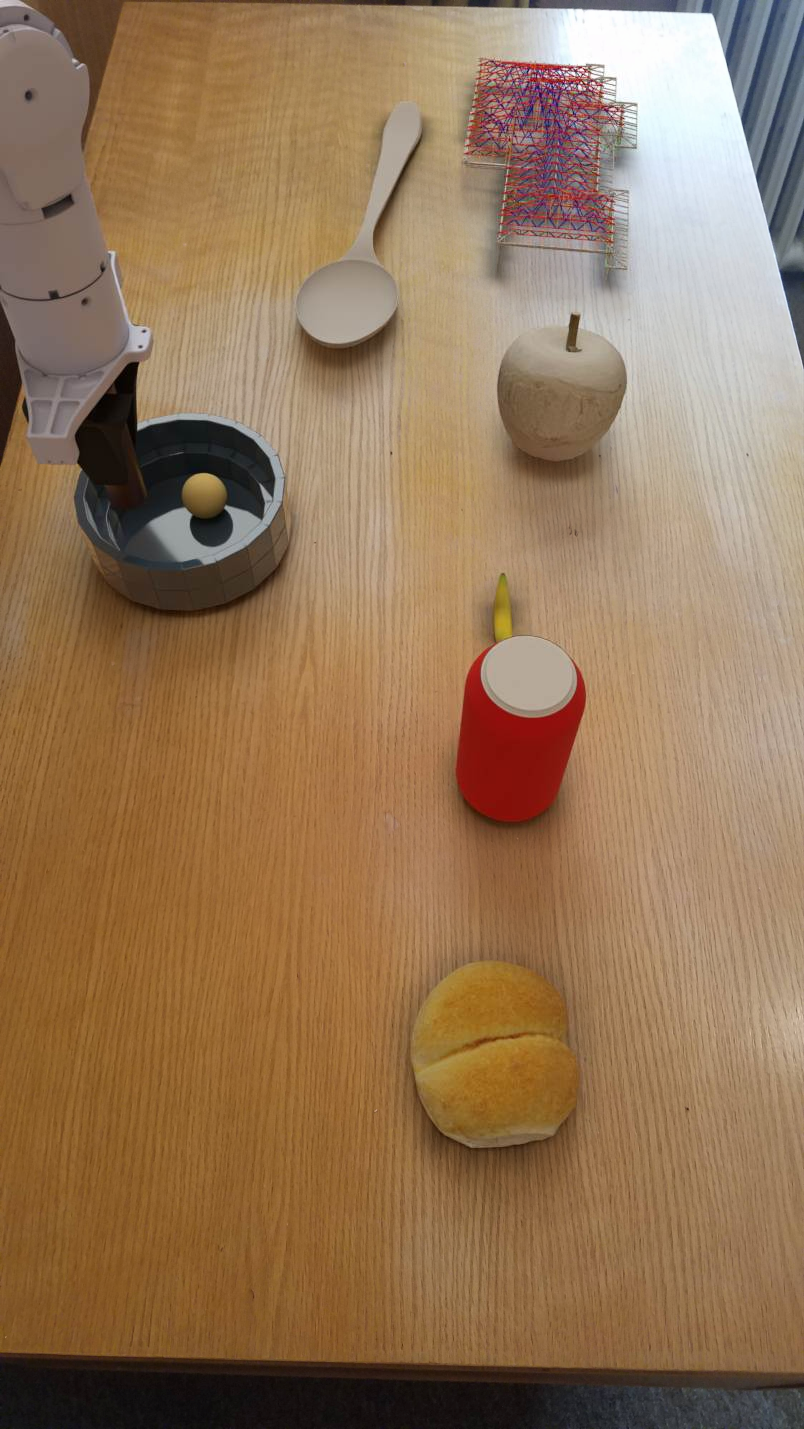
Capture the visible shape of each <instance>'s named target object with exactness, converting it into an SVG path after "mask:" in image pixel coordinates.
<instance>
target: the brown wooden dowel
mask: <svg viewBox="0 0 804 1429" xmlns="http://www.w3.org/2000/svg"><path fill="white" fill-rule="evenodd" d="M105 393H109V394H118V393H117V390H116V386H115V383H114V382H113V383H112V384H111V386H110V387H109V388H108V390H107V391H106V392H105ZM126 442H127V449H128V456H129V465H130V471H129V478H128V483H127V485H125V486H114V485H104V487H105V490H106V493H107V495H108V498H109V501H110V503H111V504H112V505H113V506H114V507H116V508H118V509H121V510H131V509H134V508H137V507H139V506H140V505H142V504H143V503H144V501H145V500H146V498H147V489H146V486H145V482H144V479H143V476H142V473H141V469H140V466H139V463H138V459H137V456H136V453H135V449H134V446H133V443H132V439H131V436H130V433H129V429H128V426H127V423H126Z"/></svg>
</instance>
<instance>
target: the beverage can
mask: <svg viewBox="0 0 804 1429" xmlns="http://www.w3.org/2000/svg"><path fill="white" fill-rule="evenodd" d="M586 703H587V690H586V684H585V679H584V677H583V674H582V672H581V670H580V668H579V666H578V665H577V663H576V662H575V661H574V659H573V658H572V657H571V655H569V654H568V653H567V652H566V651H565V650H564V649H563V648H562V647H561V646H559V645H558V644H557V643H555V642H553V641H551V640H549V639H547V638H544V637H542V636H537V635H530V634H521V635H513V637H509V638H507V639H504V640H502V641H499V642H497V643H496V642H495V643H493V644H492V645H489V646H488V647H487V648H485V649H484V650H483V651H482V652H481V653H480V654H479V655H478V656H477V657H476V659H475V660H474V661H473V663H472V665H471V666H470V668H469V670H468V672H467V675H466V677H465V683H464V691H463V699H462V709H461V717H460V728H459V737H458V744H457V753H456V761H455V762H456V764H455V778H456V782H457V786H458V788H459V790H460V793H461V795H462V796H463V797H464V799H465V801H466V802H467V803H468V804H469V805H470V806H471V807H472V808H474V809H475V810H476V811H477V812H479V813H480V814H482V815H484V816H486V817H488V818H491V819H494V820H497V821H501V822H508V823H509V822H510V823H511V822H514V823H515V822H523V821H527V820H530V819H533V818H535V817H538V816H539V815H540V814H542V813H543V812H545V811H546V810H547V809H548V808H549V807H550V806H551V805H552V804H553V802H555V799H556V798H557V796H558V795H559V791H560V788H561V785H562V782H563V779H564V775H565V773H566V770H567V766H568V764H569V760H570V757H571V753H572V750H573V747H574V744H575V740H576V738H577V736H578V735H577V734H578V731H579V729H580V725H581V722H582V718H583V716H584V712H585V708H586Z"/></svg>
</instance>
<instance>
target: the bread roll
mask: <svg viewBox="0 0 804 1429" xmlns="http://www.w3.org/2000/svg"><path fill="white" fill-rule="evenodd" d="M568 1019H569V1016H568V1011H567V1008H566V1004H565V1001H564V999H563V997H562V995H561V994H560V993H559V992H558V990H557V989H556V988H555V987H554V986H553V985H552V984H551V983H550V982H549V981H547V980H546V979H544V977H543V976H541V975H540V974H539V973H537V972H536V971H533V970H531V969H530V968H528V967H526V966H521V965H519V964H515V963H511V962H507V961H503V960H481V961H473V962H470V963H465V964H464V965H462V966H460V967H458V968H457V969H455V970H453V971H452V972H450V973H449V974H448V975H446V976H445V977H444V978H443V979H442V980H440V981H439V982H438V984H436V986H434V988H432V990H431V992H430V993H429V994H428V996H427V997H426V998H425V1000H424V1002H423V1003H422V1005H421V1007H420V1009H419V1011H418V1013H417V1015H416V1019H415V1021H414V1025H413V1027H412V1032H411V1037H410V1044H409V1045H410V1046H409V1047H410V1048H409V1055H410V1063H411V1066H412V1067H411V1068H412V1070H413V1074H414V1081H415V1085H416V1090H417V1095H418V1097H419V1100H420V1102H421V1105H422V1107H423V1108H424V1110H425V1112H426V1114H427V1116H428V1117H429V1119H430V1120H431V1121H432V1123H433V1124H434V1126H435V1127H436V1128H437V1129H438V1131H439V1132H440V1133H442V1134H443V1135H444V1136H445V1137H448V1138H450V1139H452V1140H453V1141H455V1142H458V1143H459V1144H463V1145H464V1146H466V1147H468V1148H471V1149H476V1148H477V1149H483V1148H485V1149H486V1148H503V1147H510V1146H513V1145H518V1146H519V1145H522V1144H527V1143H529V1142H535V1141H543V1140H545V1139H549V1138H552V1137H554V1136H555V1135H556V1132H557V1131H558V1129H559V1127H560V1125H561V1124H562V1123H564V1122H565V1121H566V1119H567V1118H568V1117H569V1116H570V1114H571V1113H572V1112H573V1110H574V1108H575V1106H576V1104H577V1098H578V1094H579V1087H580V1072H579V1071H580V1069H579V1066H578V1063H577V1060H576V1057H575V1054H574V1052H572V1050H571V1049H570V1047H569V1046H568V1045H567V1042H566V1032H567V1030H568V1021H569V1020H568Z"/></svg>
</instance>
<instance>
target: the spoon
mask: <svg viewBox="0 0 804 1429" xmlns="http://www.w3.org/2000/svg"><path fill="white" fill-rule="evenodd" d="M421 115H422V114H421V111H420V107H419V105H418V104H417V102H415V101H411V100H402V101H399V102H398V103H397V104H396V105H395V106H394V108H393V110H392V111H391V113H390V115H389V117H388V118H387V121H386V123H385V126H384V128H383V131H382V136H381V137H382V138H381V149H380V150H381V151H380V155H379V160H378V164H377V167H376V172H375V176H374V179H373V182H372V187H371V190H370V194H369V198H368V202H367V207H366V211H365V214H364V218H363V221H362V224H361V226H360V229H359V232H358V234H357V236H356V238H355V240H354V242H353V243H352V245H351V246H350V247H349V249H348V250H347V251H346V252H345V253H344V254H343V255H342V256H341V257H340V258H338V259H336V260H335V261H332V262H329V263H327V264H324V265H322V266H321V267H319V268H316V269H315V270H314V271H313V272H311V273H309V275H307V277H306V278H305V279H304V280H303V282H302V283H301V284H300V286H299V288H298V290H297V292H296V295H295V299H294V311H295V315H296V317H297V320H298V322H299V323H300V326H301V328H302V330H303V331H304V332H305V333H306V335H307V336H309V337H310V339H312V340H313V341H314V342H316V343H317V344H319V345H321V346H324V347H326V348H332V349H344V348H345V349H346V348H350V347H354V346H356V345H359V344H361V343H364V342H366V341H368V340H369V339H371V338H372V337H374V336H375V335H376V334H378V333H379V332H380V331H382V330H383V328H384V327H385V326H386V325H387V324H388V323H389V322H390V320H391V319H392V317H393V316H394V314H395V312H396V310H397V306H398V302H399V295H400V294H399V293H400V292H399V285H398V283H397V280H396V279H395V277H394V275H393V274H392V273H391V272H390V271H389V270H388V269H387V268H386V267H384V266H383V265H382V264H381V262H380V261H379V259H378V257H377V255H376V252H375V249H374V248H375V247H374V241H373V240H374V238H373V237H374V232H375V230H376V227H377V224H378V222H379V220H380V218H381V216H382V214H383V212H384V210H385V208H386V206H387V204H388V202H389V200H390V198H391V195H392V194H393V191H394V189H395V187H396V185H397V183H398V180H399V178H400V177H401V174H402V172H403V170H404V168H405V165H406V164H407V163H408V160H409V159H410V157H411V154H412V153H413V152H414V150H415V148H416V146H417V145H418V143H419V141H420V139H421V137H422V134H423V119H422V116H421Z"/></svg>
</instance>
